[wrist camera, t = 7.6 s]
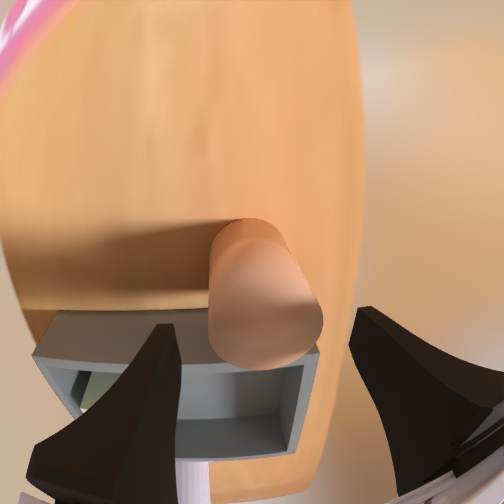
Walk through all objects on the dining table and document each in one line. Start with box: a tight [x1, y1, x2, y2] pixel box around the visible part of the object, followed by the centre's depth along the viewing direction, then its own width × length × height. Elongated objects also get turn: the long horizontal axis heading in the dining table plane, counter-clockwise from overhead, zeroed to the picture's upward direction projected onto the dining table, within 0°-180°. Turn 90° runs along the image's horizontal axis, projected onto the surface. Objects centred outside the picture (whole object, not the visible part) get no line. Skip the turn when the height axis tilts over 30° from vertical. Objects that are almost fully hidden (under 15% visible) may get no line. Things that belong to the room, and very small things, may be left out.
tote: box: [32, 308, 320, 462], centre depth 19 cm, size 18×14×5 cm
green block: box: [80, 371, 122, 413], centre depth 18 cm, size 5×5×5 cm
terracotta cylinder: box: [208, 218, 323, 370], centre depth 14 cm, size 5×5×7 cm
